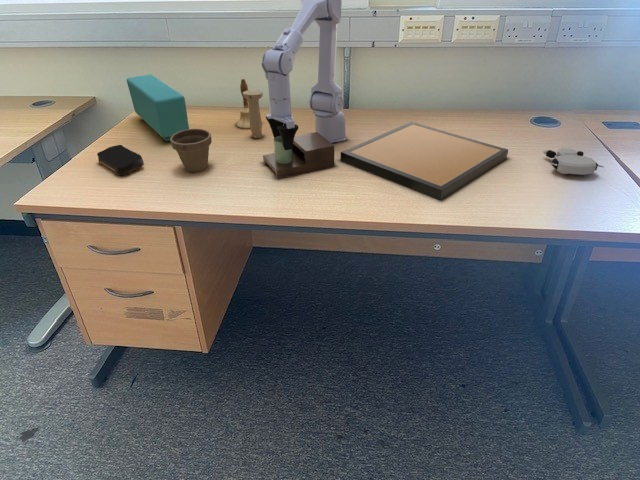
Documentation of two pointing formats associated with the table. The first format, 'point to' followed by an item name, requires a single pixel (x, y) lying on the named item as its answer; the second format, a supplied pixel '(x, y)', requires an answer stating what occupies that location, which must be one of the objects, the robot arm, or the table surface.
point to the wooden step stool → (315, 153)
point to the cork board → (425, 158)
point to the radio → (158, 105)
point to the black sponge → (120, 159)
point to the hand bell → (244, 112)
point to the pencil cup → (281, 152)
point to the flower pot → (192, 148)
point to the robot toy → (571, 162)
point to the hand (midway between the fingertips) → (283, 144)
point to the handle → (254, 111)
